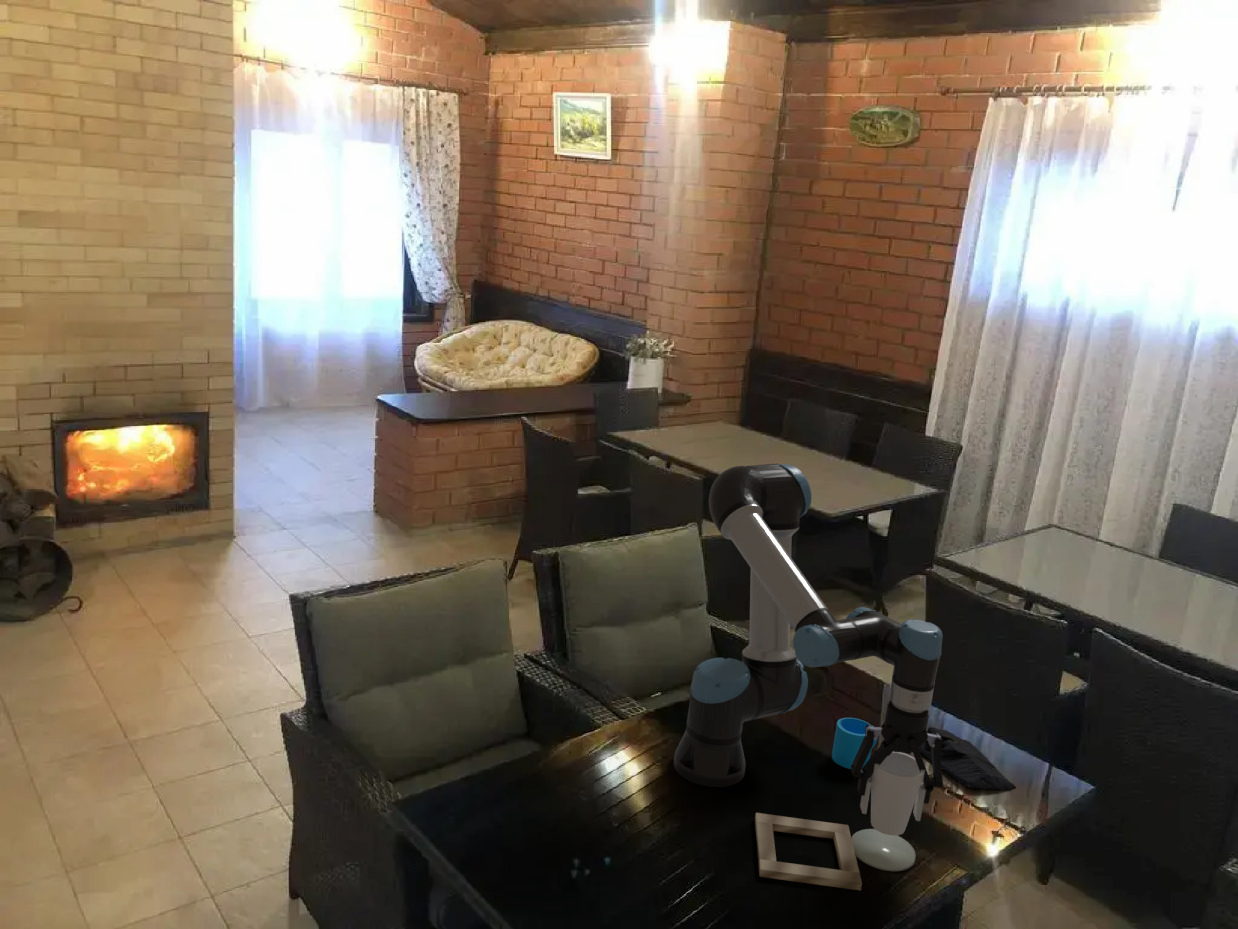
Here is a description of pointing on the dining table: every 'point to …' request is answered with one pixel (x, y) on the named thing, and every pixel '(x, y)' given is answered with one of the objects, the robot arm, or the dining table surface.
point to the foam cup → (894, 792)
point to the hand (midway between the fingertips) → (889, 813)
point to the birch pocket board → (802, 873)
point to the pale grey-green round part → (883, 850)
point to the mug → (849, 741)
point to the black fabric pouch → (966, 762)
